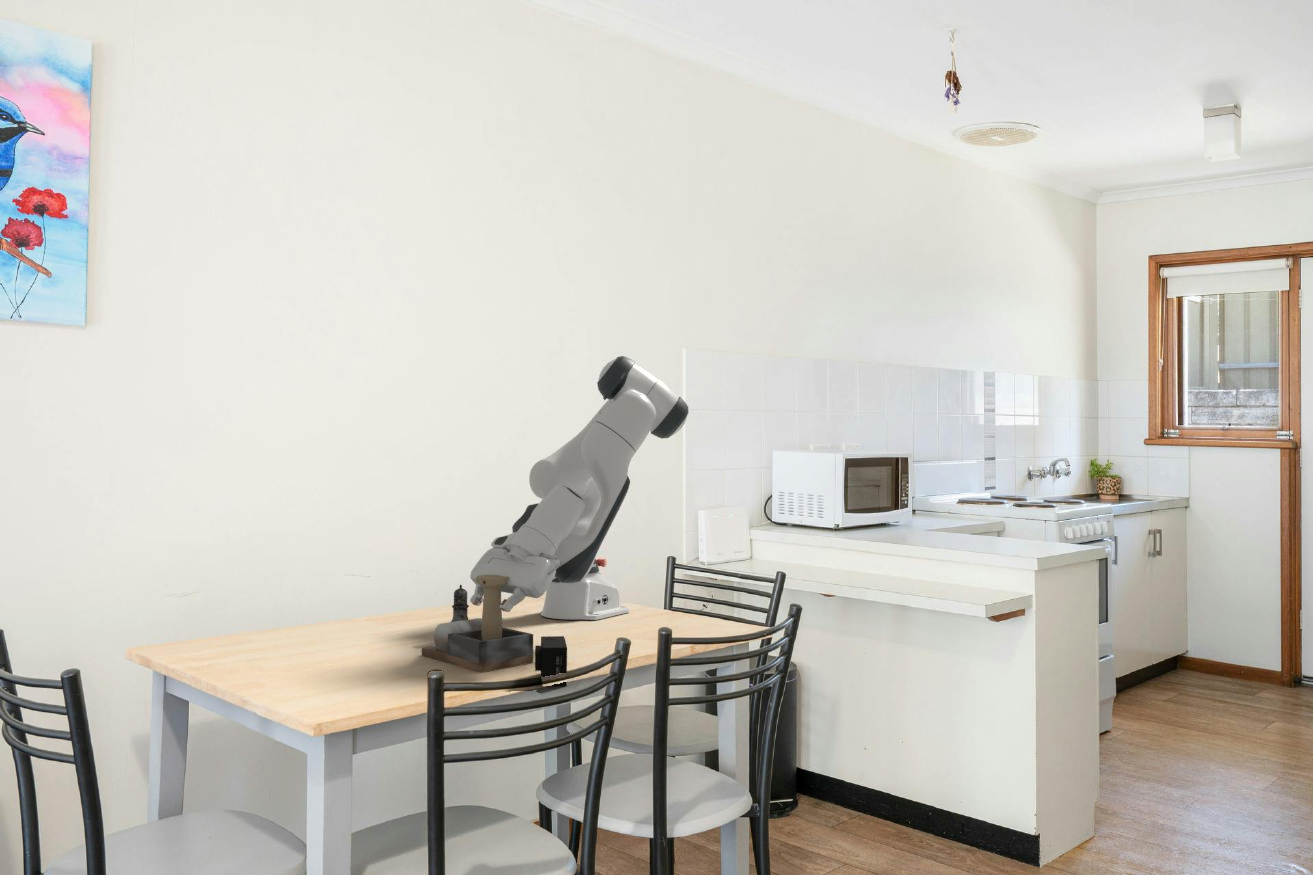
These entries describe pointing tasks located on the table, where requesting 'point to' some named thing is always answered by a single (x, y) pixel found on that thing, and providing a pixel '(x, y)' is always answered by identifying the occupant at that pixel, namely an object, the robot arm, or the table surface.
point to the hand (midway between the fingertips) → (488, 606)
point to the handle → (492, 605)
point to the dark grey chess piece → (460, 605)
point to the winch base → (479, 646)
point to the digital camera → (551, 657)
